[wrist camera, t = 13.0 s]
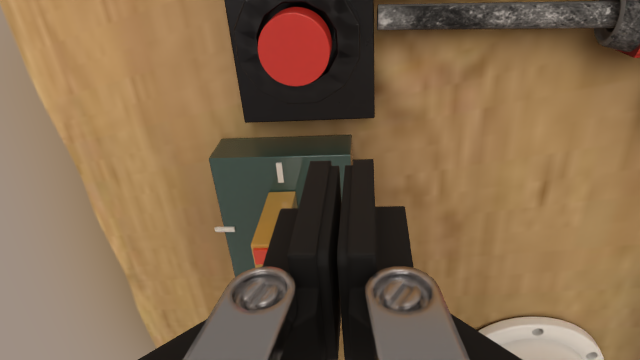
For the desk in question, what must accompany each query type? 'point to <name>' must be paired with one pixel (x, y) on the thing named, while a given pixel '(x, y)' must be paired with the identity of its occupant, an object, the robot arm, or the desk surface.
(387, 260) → the robot arm
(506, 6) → the valve
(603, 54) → the desk surface
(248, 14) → the switch box
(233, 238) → the block
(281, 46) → the stop button
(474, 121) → the desk surface
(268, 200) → the tap handle
